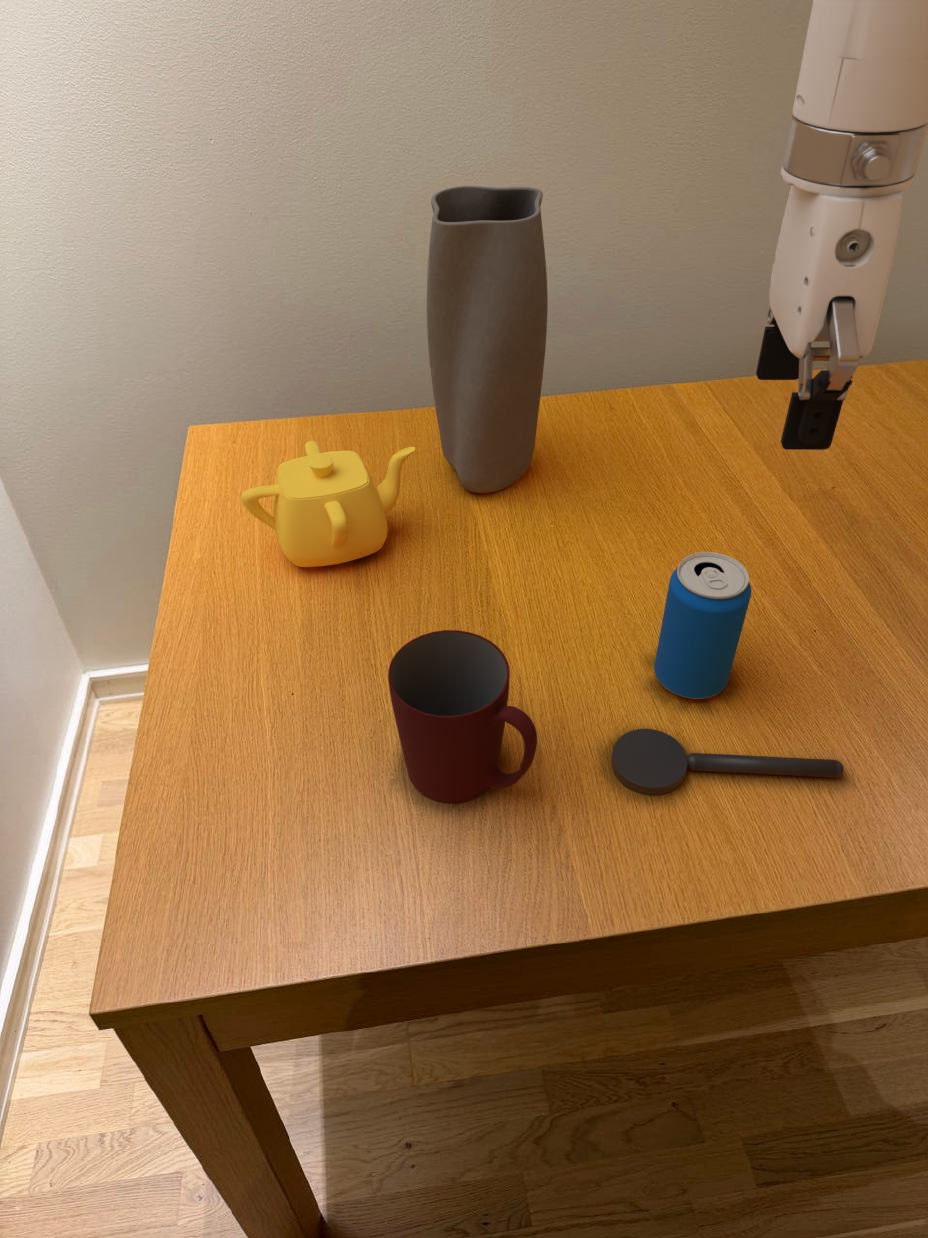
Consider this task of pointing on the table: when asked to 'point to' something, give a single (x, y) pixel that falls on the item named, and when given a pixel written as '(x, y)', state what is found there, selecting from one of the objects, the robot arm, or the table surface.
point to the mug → (455, 714)
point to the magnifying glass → (696, 763)
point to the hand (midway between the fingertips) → (790, 410)
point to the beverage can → (702, 624)
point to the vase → (487, 329)
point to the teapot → (328, 506)
